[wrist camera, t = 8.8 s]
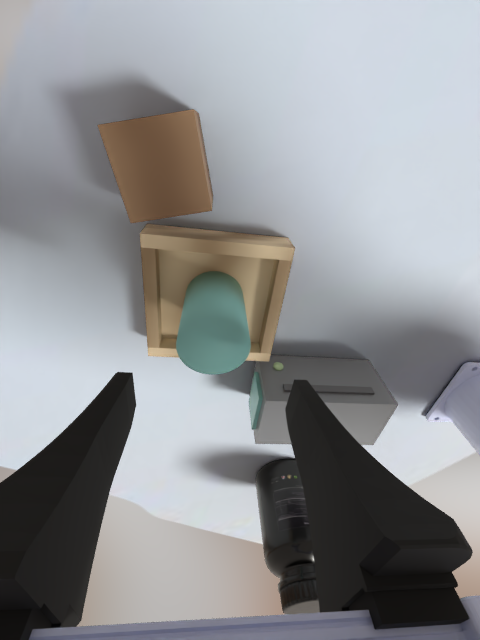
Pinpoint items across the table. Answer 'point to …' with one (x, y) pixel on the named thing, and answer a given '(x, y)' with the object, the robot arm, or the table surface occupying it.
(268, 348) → the birch tray
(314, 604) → the supplement bottle
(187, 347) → the teal peg
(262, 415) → the gray block
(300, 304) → the table surface
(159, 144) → the walnut block
